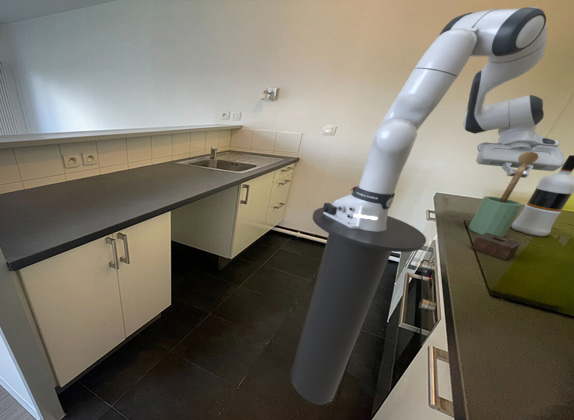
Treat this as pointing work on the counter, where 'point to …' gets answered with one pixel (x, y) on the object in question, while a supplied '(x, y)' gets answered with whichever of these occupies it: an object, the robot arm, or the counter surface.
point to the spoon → (519, 173)
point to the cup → (494, 216)
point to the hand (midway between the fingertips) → (517, 175)
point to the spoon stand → (495, 246)
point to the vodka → (546, 202)
